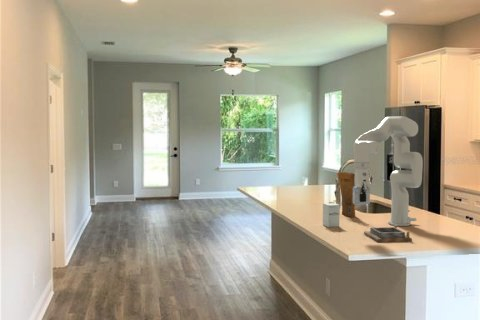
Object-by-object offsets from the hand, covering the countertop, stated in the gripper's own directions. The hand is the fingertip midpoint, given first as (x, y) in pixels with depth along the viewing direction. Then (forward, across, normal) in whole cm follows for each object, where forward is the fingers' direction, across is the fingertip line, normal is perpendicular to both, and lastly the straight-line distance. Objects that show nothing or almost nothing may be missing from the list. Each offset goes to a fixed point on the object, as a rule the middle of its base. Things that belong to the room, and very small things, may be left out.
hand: (361, 200), depth 252 cm
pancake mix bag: (+20, +61, -11) cm, 65 cm away
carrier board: (+19, -4, -12) cm, 23 cm away
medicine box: (+2, 0, 0) cm, 2 cm away
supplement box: (+19, +29, +8) cm, 36 cm away
